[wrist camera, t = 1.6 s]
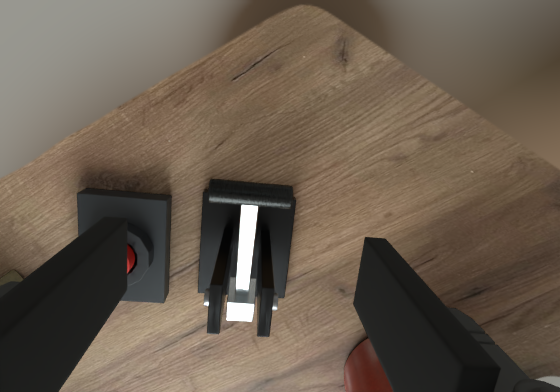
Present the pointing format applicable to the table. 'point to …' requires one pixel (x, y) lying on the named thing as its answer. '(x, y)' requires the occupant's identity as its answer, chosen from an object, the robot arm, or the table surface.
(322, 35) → the table surface
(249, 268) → the lever
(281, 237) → the bracket
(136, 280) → the button block
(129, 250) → the button
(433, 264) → the table surface
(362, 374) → the flower pot
